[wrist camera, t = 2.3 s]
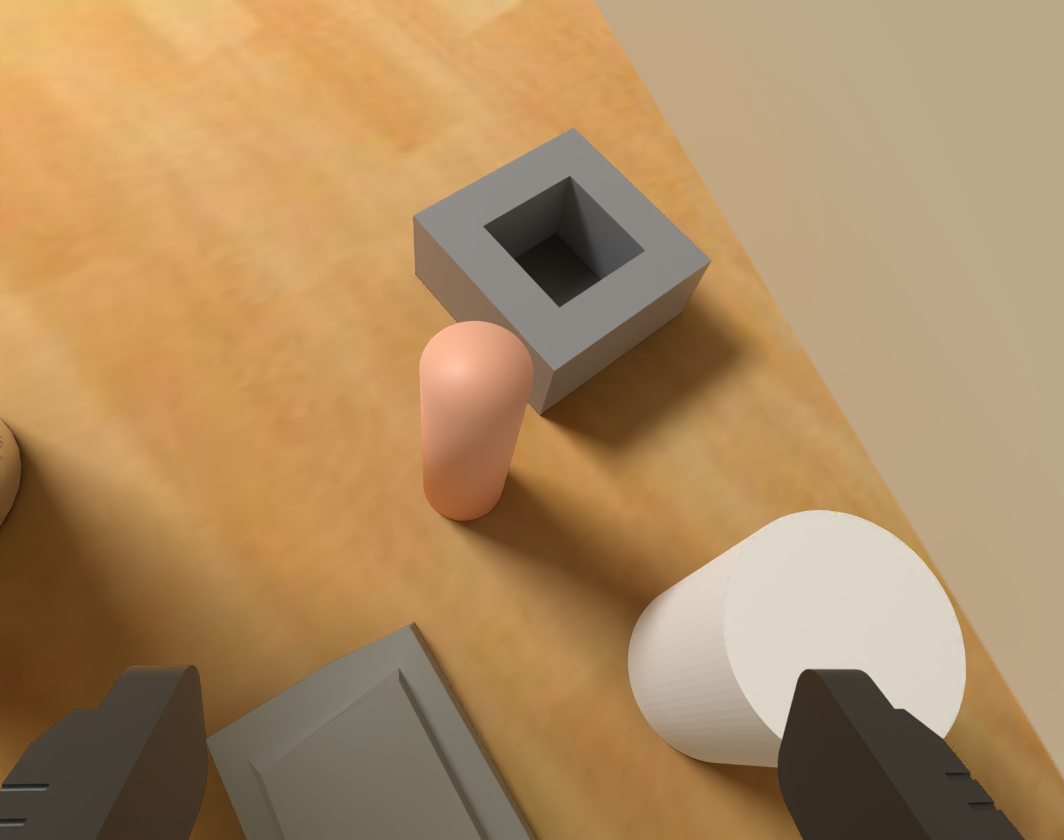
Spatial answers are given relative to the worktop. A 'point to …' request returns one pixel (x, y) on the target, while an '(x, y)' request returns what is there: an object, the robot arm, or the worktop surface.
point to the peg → (471, 415)
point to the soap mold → (366, 756)
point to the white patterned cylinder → (793, 636)
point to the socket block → (558, 261)
